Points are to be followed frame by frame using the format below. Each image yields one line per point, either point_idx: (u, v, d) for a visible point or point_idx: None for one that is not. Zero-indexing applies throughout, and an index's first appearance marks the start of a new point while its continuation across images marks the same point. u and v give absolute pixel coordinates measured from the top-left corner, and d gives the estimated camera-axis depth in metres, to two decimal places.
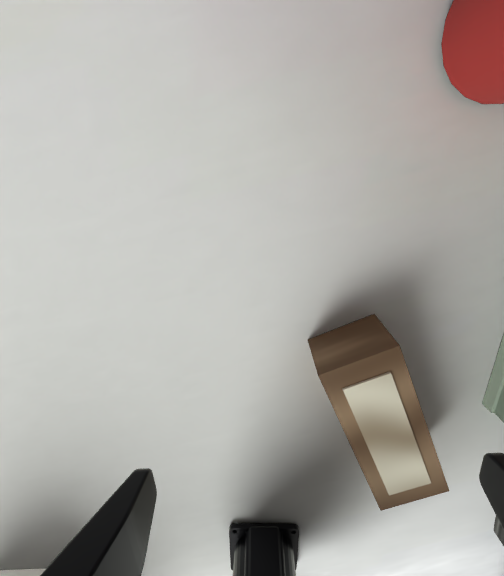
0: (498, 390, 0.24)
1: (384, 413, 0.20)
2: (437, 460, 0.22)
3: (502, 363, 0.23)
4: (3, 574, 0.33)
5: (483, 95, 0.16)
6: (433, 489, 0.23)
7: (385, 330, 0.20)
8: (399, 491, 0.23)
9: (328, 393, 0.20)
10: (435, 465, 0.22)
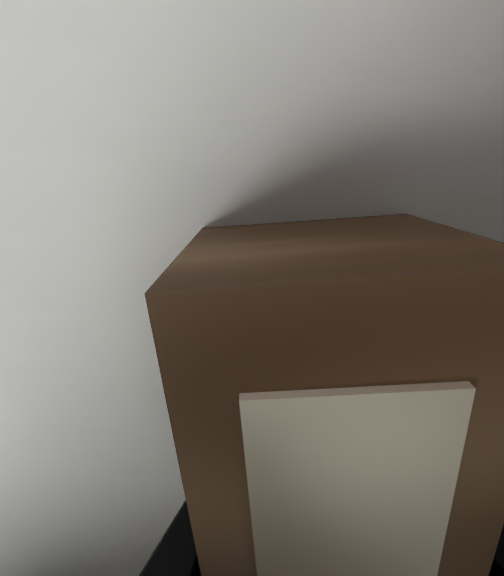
0: None
1: (367, 538, 0.05)
2: None
3: None
4: None
5: None
6: None
7: (466, 234, 0.05)
8: None
9: (173, 396, 0.04)
10: None
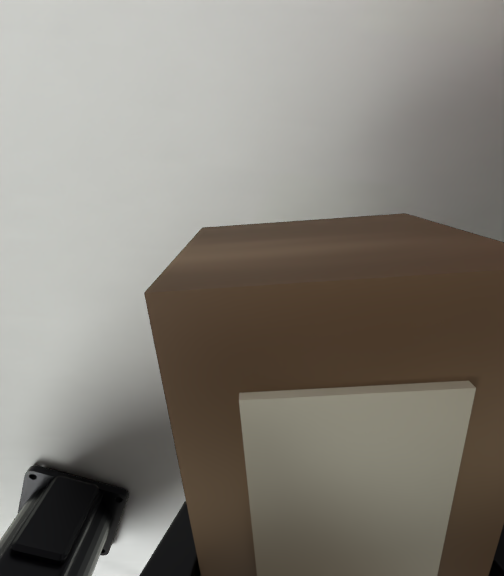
0: None
1: (367, 538, 0.05)
2: None
3: None
4: None
5: None
6: None
7: (466, 233, 0.05)
8: None
9: (172, 396, 0.04)
10: None
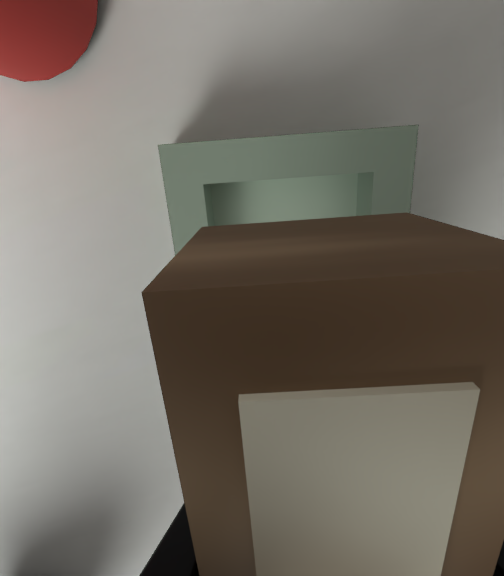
0: None
1: (368, 541, 0.05)
2: None
3: None
4: None
5: None
6: None
7: (469, 232, 0.05)
8: None
9: (171, 398, 0.04)
10: None
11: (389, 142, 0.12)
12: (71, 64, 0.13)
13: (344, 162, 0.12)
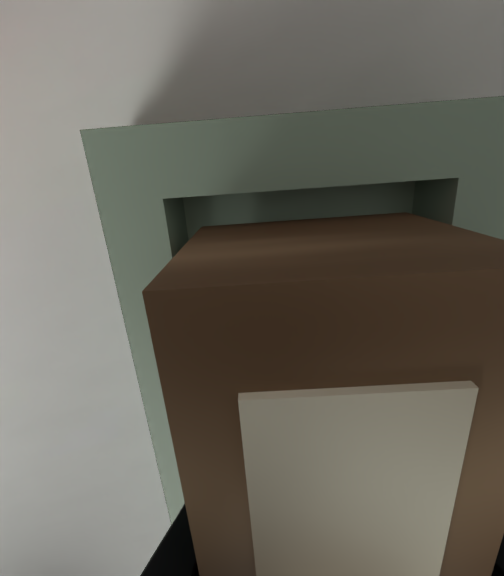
0: None
1: (368, 539, 0.05)
2: None
3: None
4: None
5: None
6: None
7: (468, 232, 0.05)
8: None
9: (171, 396, 0.04)
10: None
11: (491, 125, 0.07)
12: None
13: (408, 160, 0.07)
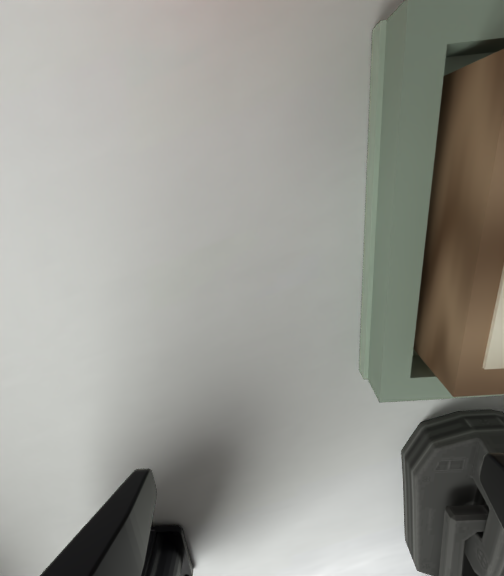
0: (366, 350, 0.19)
1: None
2: None
3: (364, 315, 0.18)
4: None
5: None
6: None
7: None
8: (502, 367, 0.13)
9: None
10: None
11: None
12: None
13: None
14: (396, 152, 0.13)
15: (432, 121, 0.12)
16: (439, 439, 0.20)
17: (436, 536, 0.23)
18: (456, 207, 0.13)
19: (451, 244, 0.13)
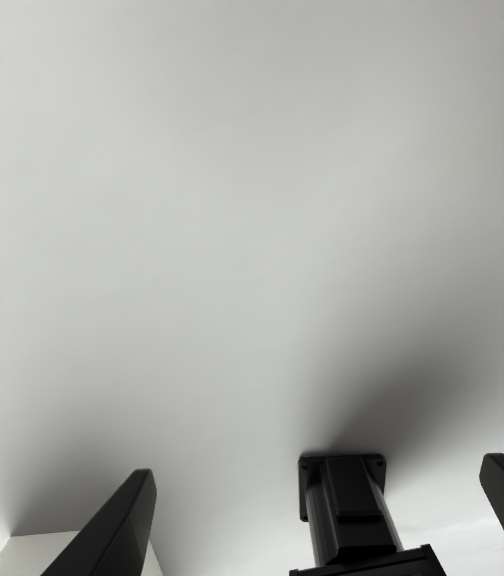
0: None
1: None
2: None
3: None
4: (24, 540, 0.28)
5: None
6: None
7: None
8: None
9: None
10: None
11: None
12: None
13: None
14: None
15: None
16: None
17: None
18: None
19: None
